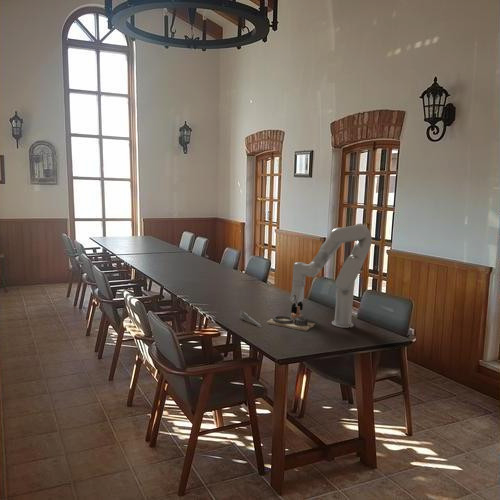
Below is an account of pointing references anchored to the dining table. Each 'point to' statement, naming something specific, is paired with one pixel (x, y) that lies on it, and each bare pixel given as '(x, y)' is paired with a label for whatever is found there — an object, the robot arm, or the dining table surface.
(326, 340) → the dining table surface
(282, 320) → the carrier
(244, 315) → the caliper
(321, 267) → the robot arm
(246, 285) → the dining table surface
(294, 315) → the planet gear
